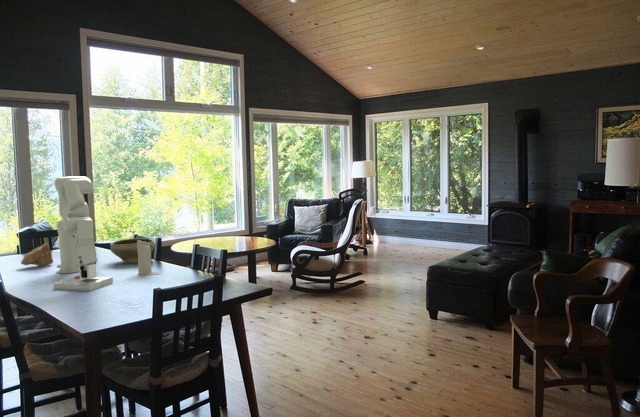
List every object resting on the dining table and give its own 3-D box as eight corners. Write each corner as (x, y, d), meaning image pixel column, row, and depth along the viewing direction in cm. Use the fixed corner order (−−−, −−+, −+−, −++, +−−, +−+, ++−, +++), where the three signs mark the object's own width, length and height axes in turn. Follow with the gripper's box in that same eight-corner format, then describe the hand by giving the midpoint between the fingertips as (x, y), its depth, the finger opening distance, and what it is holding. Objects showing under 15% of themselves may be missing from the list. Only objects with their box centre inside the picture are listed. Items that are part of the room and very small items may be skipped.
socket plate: (53, 289, 259) (53, 281, 259) (78, 281, 277) (78, 274, 276) (89, 291, 254) (89, 283, 253) (112, 282, 271) (112, 275, 270)
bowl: (141, 256, 350) (140, 236, 349) (164, 261, 332) (163, 239, 331) (102, 262, 328) (101, 241, 327) (124, 267, 311) (123, 244, 310)
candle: (158, 275, 287) (156, 240, 285) (136, 274, 290) (134, 240, 288) (164, 272, 294) (162, 238, 292) (142, 271, 297) (140, 238, 295)
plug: (80, 278, 262) (79, 265, 262) (86, 276, 267) (86, 263, 266) (89, 279, 261) (89, 265, 260) (96, 277, 265) (95, 263, 265)
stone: (53, 263, 329) (51, 241, 328) (54, 266, 321) (52, 243, 319) (21, 267, 320) (19, 243, 318) (21, 269, 311) (19, 245, 310)
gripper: (91, 239, 271) (93, 272, 273) (67, 244, 255) (70, 279, 256) (103, 239, 269) (105, 273, 271) (80, 244, 253) (82, 280, 254)
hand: (88, 276), depth 264 cm, fingers closed on plug, 5 cm apart
